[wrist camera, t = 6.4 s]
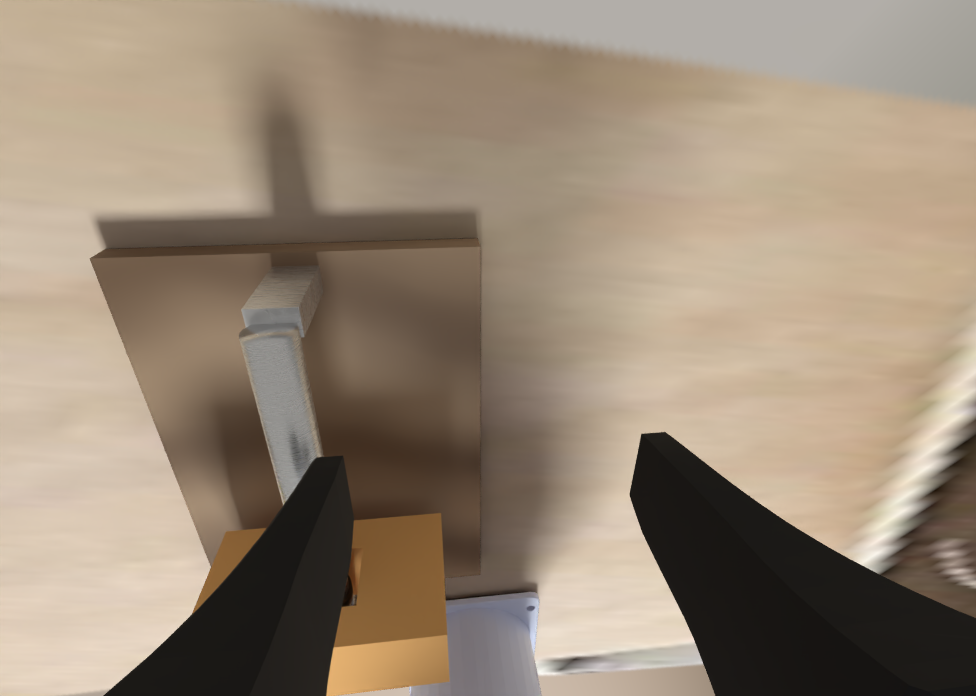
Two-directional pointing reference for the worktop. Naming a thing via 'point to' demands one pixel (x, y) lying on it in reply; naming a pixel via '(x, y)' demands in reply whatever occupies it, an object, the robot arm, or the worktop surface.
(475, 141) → the worktop surface
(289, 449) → the metal rod
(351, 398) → the walnut board
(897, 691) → the robot arm
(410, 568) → the collar
